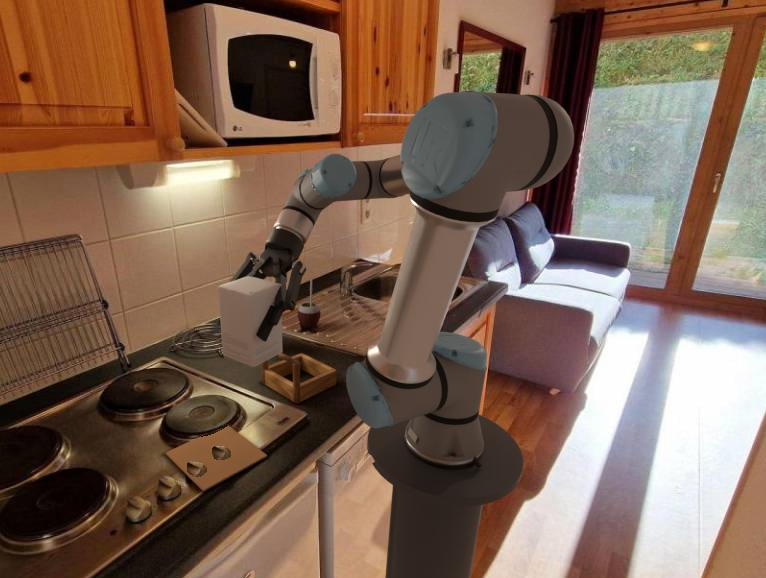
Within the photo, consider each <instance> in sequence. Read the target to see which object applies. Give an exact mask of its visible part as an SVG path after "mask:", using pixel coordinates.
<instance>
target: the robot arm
mask: <svg viewBox="0 0 766 578" xmlns="http://www.w3.org/2000/svg"><path fill="white" fill-rule="evenodd" d="M574 143H575V132H574V125H573V122H572V120H571V117H570V116H569V114H568V112H567V111H566V110H565V109H564V108H563V107H562V105H560V104H559V102H557V101H555V100H554V99H552V98H549V97H547V96H543V95H539V94H538V95H537V94H529V93H528V94H517V93H516V94H515V93H505V92H504V93H503V92H502V93H501V92H488V91H477V90H474V89H470V90H464V91H458V92H455V91H453V92H445V93H444V92H443V93H441V94H438V95H436V96H434V97H432V98H431V99H430V100H429V101H428V102H426V103H424V104H423V105H422V106H421V107H420V108H419V109H418V110H417V111H416V112H415V114H414V115H413V117H412V118H411V120H410V122H409V124H408V125H407V127H406V130H405V133H404V136H403V139H402V142H401V149H400V154H397V155H394V156H391V157H387V158H383V159H377V160H351V159H350V158H348V157H347V156H345V155H343V154H341V153H331V154H328V155H326V156H324V158H322V159H321V160H319V161H318V162H317V163H316V164H315V165H314V166H313V167H312V168H309V169H308V168H307V169H304V170H303V171H302V172H301V173H300V175H299V176H298V178H297V179H296V180H295V181H294V183H293V187H292V190H291V192H290V194H289V196H288V198H287V200H286V202H285V204H284V205H283V208H282V209H281V211H280V213H279V215H278V217H277V219H276V221H275V222H274V225H273V227H272V228H273V229H271V231H270V233H269V235H268V237H267V238H266V240H265V243H264V250H263V251H262V252H261V253H259V254H254V253H253V252H252V251H249V252H248V253H247V255H246V258H245V260H244V262H243V263H242V264H241V266H240V267H239V268H238V270H236V272H235V273H234V275H233V276H232V277H231V278H230V280H229V281H228V283H229V282H232V281H235V280H238V279H241V278H243V277H247V276H250V277H255V278H259V279H263V280H266V278H274V282H275V283H279V284H281V286H280V288H279V290H278V292H277V294H276V296H275V303H274V302H273V304H274V305H275V306H276V307H274V306H272V305H270V307H269V309H268V311H267V314H266V316H265V318H264V320H263V322H262V324H261V326H260V328H259V330H258V332H257V334H256V336H258V337H259V338H260V339H261V340H262V341H265V342H266V341H267V339H268V337H269V335H270V332H271V330H272V328H273V326H276V325H277V324H278V322H279V320H280V318H281V316H282V317H283V313H284V312H286V311H290V312H294V311H295V310H296V306H297V302H298V296H299V293H300V289H301V284H302V279H303V277H304V275H305V274H306V271H307V269H308V268H307V267H306V266H305V264H304V262H302V261H301V260H300V259H299V258H300V256H301V255H302V253H303V250H304V248H305V245H306V243H307V241H308V239H309V238H310V235H311V233H312V232H313V229H314V227H315V225H316V223H317V221H318V218H319V217H320V215H321V213H322V212H323V211H324V210H325V209H326V208H328V207H329V206H330V205H332V204H333V203H337V202H348V201H349V202H350V201H361V200H362V201H363V200H364V201H365V200H377V199H397V198H401V197H404V196H405V195H408V197H409V200H410V203H412V205H413V207H414V208H415V214H414V217H413V221H412V225H411V228H410V232H409V235H408V239H407V243H406V246H405V249H404V252H403V256H402V260H401V264H400V267H399V271H398V273H397V278H396V281H395V285H394V288H393V292H392V295H391V299H390V301H389V306H388V309H387V312H386V316H385V320H384V323H383V325H382V330H381V334H380V336H377V337H375V338H374V339H372V341H370V343H369V344H368V346H367V349H366V353H365V357H364V360H363V361H360V362H359V361H355V362H354V363H353V364H352V363H351V364H350V366H348V368H347V370H346V374H345V382H346V389H347V393H348V396H349V400H350V403H351V405H352V408H353V409H354V411H355V413H356V414H357V416H358V418H359V419H360V420H361V421H362V423H364V425H366V426H367V427H369V428H371V427H373V428H381V427H385V426H393V425H394V424H397V423H400V422H403V421H406V420H409V419H410V421H409V423H408V425H407V427H406V430H405V445H406V447H407V449H408V451H409V452H410V453H411V454H412V455H413V456H414V457H416V458H417V459H418V460H420V461H422V462H424V463H426V464H428V465H431V466H434V467H438V468H443V469H462V468H467V467H470V466H472V465H474V464H476V466H477V467H478V468H480V467H482V464H481V463H480V462H479V460H480V459H481V457H482V454H483V449H484V440H483V436H482V431H481V427H480V422H479V418H478V416H479V415H480V408H481V402H482V396H483V391H484V384H485V378H486V372H487V370H488V366H487V363H488V362H487V361H488V352H487V349H486V348H485V346H484V345H483V344H482V343H481V342H479V341H478V340H475V339H473V338H471V337H469V336H466V335H463V334H460V333H455V332H448V331H441V329H442V327H443V324H444V321H445V319H446V316H447V314H448V311H449V309H450V306H451V303H452V300H453V297H454V296H455V294H456V293H455V292H456V291H457V288H458V285H459V282H460V280H461V277H462V274H463V271H464V269H465V266H466V263H467V262H468V261H467V260H468V259H469V255H470V253H471V251H472V249H473V245H474V243H475V239H476V237H477V235H478V232H479V229H480V228H481V227H483V226H485V225H487V224H490V223H491V222H494V221H495V220H496V218H497V216H498V213H499V211H500V208H501V206H502V205H503V201H504V199H505V197H506V194H507V193H511V192H521V191H528V190H531V189H532V190H533V189H536V188H538V187H541V186H543V185H544V184H545V185H546V184H547V183H548V182H550V181H551V180H552V179H554V178H555V177H556V176H557V175H558V174H559V173H560V172H562V170H563V169H564V168H565V166H566V164H567V163H568V161H569V159H570V157H571V155H572V152H573V148H574ZM290 271H291V272H290ZM289 272H290V276H289V280H288V273H289ZM287 282H288V284H287ZM217 325H218V326H219V327H221V322H220V319H218V322H217Z"/></svg>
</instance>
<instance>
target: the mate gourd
mask: <svg viewBox="0 0 766 578" xmlns="http://www.w3.org/2000/svg"><path fill="white" fill-rule="evenodd" d="M309 295H310V296H309V302H302V303H301V304H300V305H299V307H298V309H297V319H298V322H299V326H300V329H299V331H300V332H301V333H303V332H306V331H309V332H312V333H316V330H315V329H317V328H318V327H319V326H318V324H319V321H320V319H321V315H322V313H321V308H320V306H319V305H318V304H317V303H315V302H313V277H311V278H310V284H309Z"/></svg>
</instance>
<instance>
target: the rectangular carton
mask: <svg viewBox="0 0 766 578" xmlns="http://www.w3.org/2000/svg"><path fill="white" fill-rule="evenodd" d="M280 286H281V284H279V283H275V281H271V280H267V279H259V278H255V277H250V276H247V277H243V278H241V279H238V280H235V281H232V282H229V281H228V282H226V283H223V284H220V285H218V286H217V293H218V294H217V295H218V308H219V320H220V322H221V326H220V335H221V347H222V348H221V349H222V356H223V357H226V358H228V359H231V360H234V361H235V362H238V363H241V364H244V365H245V366H249V367H250V368H256V367H258V366H260V365H262V364H261V363H263V362H265V361H267V360H268V361H269V360H270V359H272V358H274V357H277V356H276V355H278V354H280V353H283V315H282V316H281V318H280V320H279V322H278V324H277V325H276V326H273V328H272V330H271V332H270V335H269V337H268V339H267V341H266V342H265V341H262V340H261V339H260V338H259V337H258V336H256V334H257V332H258V330H259V328H260V326H261V324H262V322H263V320H264V318H265V316H266V314H267V311H268V309H269V307H270V305H272V306H274V307H276V306H275V305H274V304H273V302H274V303H275V296H276V294H277V292H278V290H279V288H280Z"/></svg>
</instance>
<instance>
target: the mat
mask: <svg viewBox="0 0 766 578" xmlns="http://www.w3.org/2000/svg"><path fill="white" fill-rule="evenodd" d="M202 436H203V435H202ZM214 446H224V447H227V448H228V449H230V451H231V453H232V454H231V457H230V458H228V459H225V460H216V459H214V457H213V455H212V448H213V447H214ZM164 454H165V456H166V457H167V458H168V459H169V460H170V461H171V462H172V464H174V465H175V466H176V467H177V468H178V469H180V471H181V472H183V474H184V475H186V477H187V478H188V479H190V480H191V482H192V483H193V484H194V485H195V486H196V487H197V488H199V490H200V491H202V493H204V492H206V491H208V490H210V489H211V488H213V487H215V486H217V485H219V484H220V483H222V482H224V481H226V480H227V479H229V478H231V477H233V476H235V475H237V474H238V473H241V472H243V471H244V470H246V469H248V468H250V467H252V466H254V465H255V464H257V463H259V462H260V461H262V460H264V459H266V458H268V454H267V453H265V452H264V451H262V450H261V449H260V448H258V447H257V446H256V445H255V444H253V443H252V442H250V441H249V440H248V439H247V438H245V437H244V436H243V435H242V434H240V433H238V432H237V431H236V430H235V429H234V428H232V427H231V426H230V425H228V426H227V427H225V428H224V429H222V430H220V431H218V432H216V433H214V434H211V435H208V436H203V437H201V436H198V437H196V438H194V439H191V440H190V441H187V442H185V443H183V444H181V445H179V446H177V447H175V448H172V449H170V450H167V451H166V452H165V453H164ZM188 461H195V462H199V463H203V464H204V465H205V466H206V468H207V472H206V473H205V474H204V475H203V476H201V477H200V476H199V477H193V476H192V475H190V474H189V473H188V472H187V463H188Z"/></svg>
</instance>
